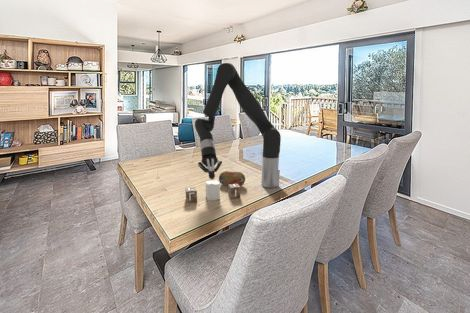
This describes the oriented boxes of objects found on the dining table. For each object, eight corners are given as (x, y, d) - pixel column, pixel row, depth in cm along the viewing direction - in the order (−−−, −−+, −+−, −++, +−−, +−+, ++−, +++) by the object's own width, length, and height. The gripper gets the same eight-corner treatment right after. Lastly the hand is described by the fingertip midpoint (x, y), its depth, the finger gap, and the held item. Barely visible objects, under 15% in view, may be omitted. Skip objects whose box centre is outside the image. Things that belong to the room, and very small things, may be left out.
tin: (218, 185, 155) (218, 171, 153) (220, 183, 158) (220, 169, 156) (244, 187, 151) (244, 173, 149) (245, 185, 154) (245, 171, 152)
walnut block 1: (237, 194, 142) (237, 183, 140) (240, 198, 137) (240, 186, 135) (228, 195, 140) (228, 184, 139) (230, 199, 136) (230, 187, 134)
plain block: (217, 194, 141) (217, 180, 139) (219, 199, 135) (219, 184, 133) (205, 195, 139) (205, 181, 137) (208, 200, 134) (207, 185, 132)
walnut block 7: (195, 198, 136) (195, 186, 135) (197, 202, 131) (196, 190, 130) (185, 199, 135) (185, 187, 133) (186, 203, 130) (186, 191, 129)
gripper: (196, 146, 138) (199, 176, 130) (221, 145, 142) (226, 174, 133) (195, 154, 145) (198, 183, 136) (219, 152, 148) (224, 181, 140)
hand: (212, 178), depth 135 cm, fingers closed
